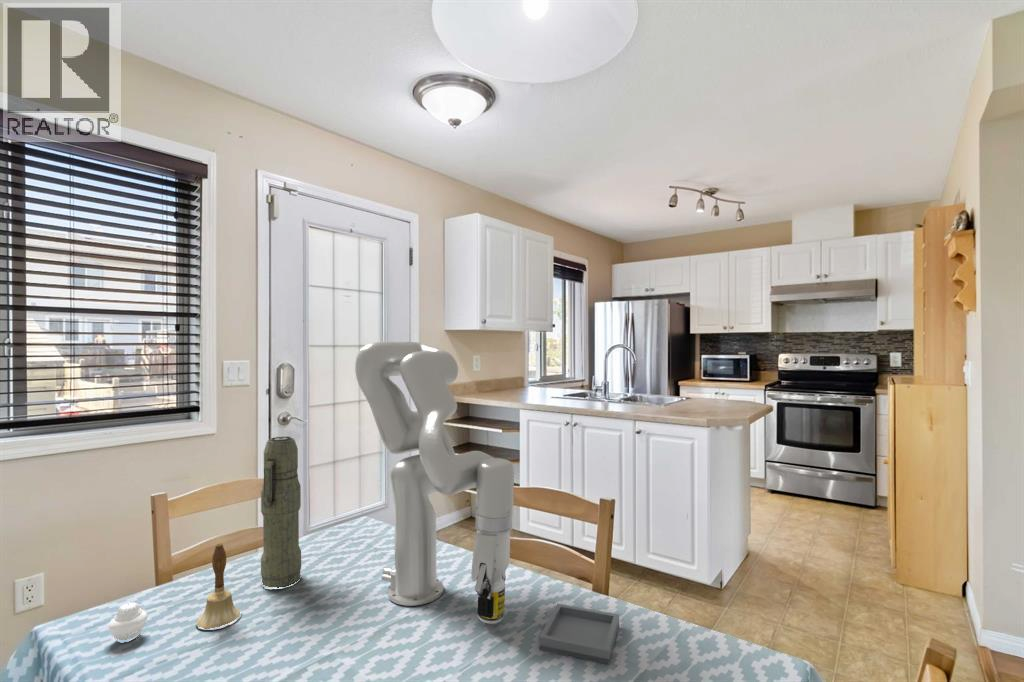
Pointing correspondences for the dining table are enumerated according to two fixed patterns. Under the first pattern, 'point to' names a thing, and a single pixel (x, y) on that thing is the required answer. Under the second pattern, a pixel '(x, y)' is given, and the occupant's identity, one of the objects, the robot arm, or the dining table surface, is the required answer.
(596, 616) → the tray
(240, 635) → the dining table surface
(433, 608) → the dining table surface
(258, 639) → the dining table surface
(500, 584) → the supplement bottle
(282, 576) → the thermos
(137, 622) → the white tiered dome
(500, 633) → the dining table surface
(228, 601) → the hand bell
